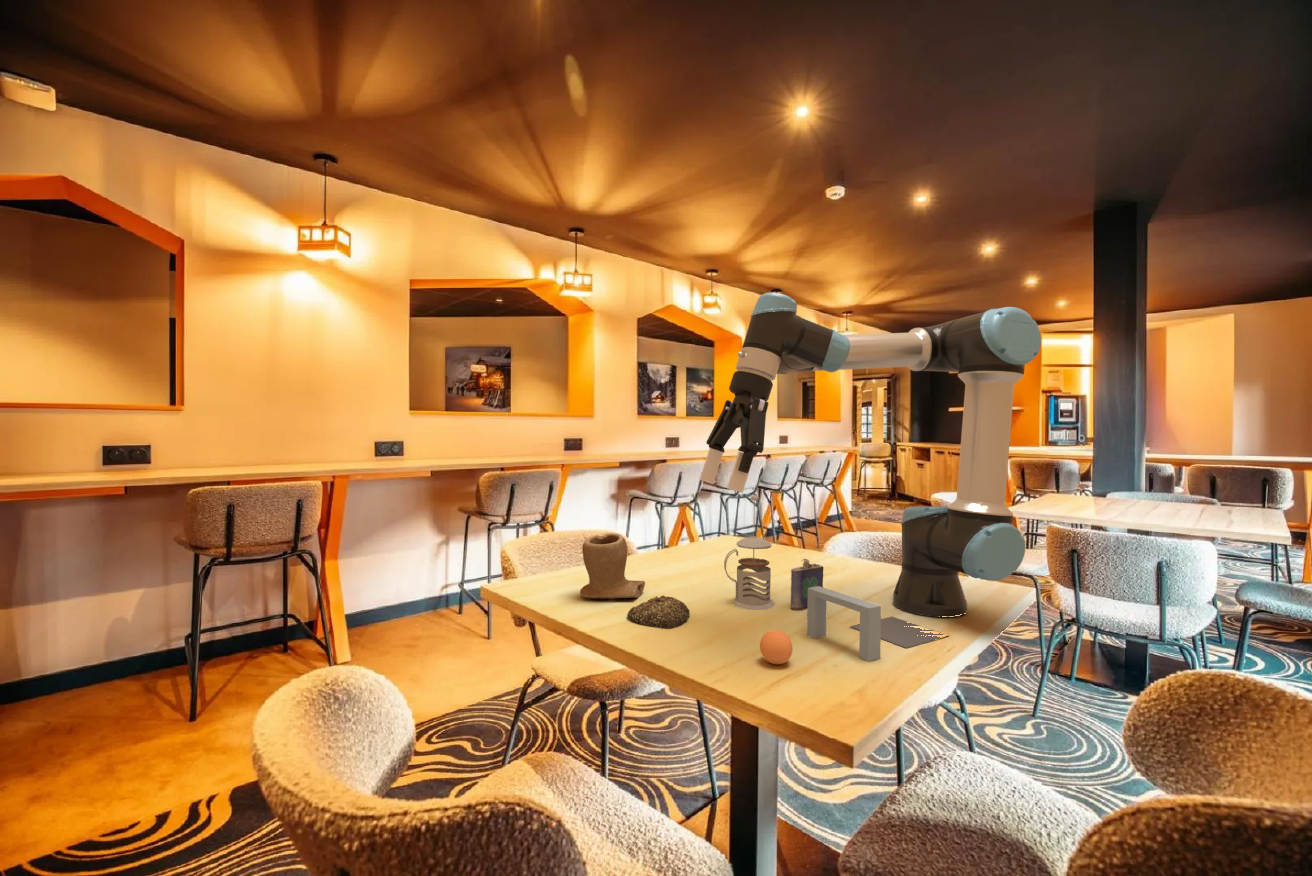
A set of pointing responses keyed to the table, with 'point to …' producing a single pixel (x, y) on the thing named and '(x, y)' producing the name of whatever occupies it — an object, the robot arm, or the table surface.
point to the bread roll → (660, 612)
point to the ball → (776, 647)
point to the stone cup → (608, 568)
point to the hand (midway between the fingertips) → (719, 486)
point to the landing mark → (902, 633)
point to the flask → (804, 583)
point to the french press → (746, 594)
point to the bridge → (868, 611)
